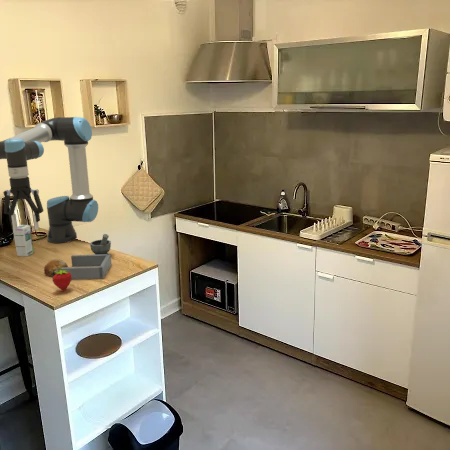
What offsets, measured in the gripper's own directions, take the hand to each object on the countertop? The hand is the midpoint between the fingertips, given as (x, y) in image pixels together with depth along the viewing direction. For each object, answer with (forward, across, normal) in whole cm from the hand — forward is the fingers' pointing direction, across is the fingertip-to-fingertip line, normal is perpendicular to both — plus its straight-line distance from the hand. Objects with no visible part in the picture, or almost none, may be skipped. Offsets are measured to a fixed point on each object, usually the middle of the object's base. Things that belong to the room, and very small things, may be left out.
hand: (26, 229), depth 196 cm
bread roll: (+21, +10, 0) cm, 23 cm away
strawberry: (+21, +19, -20) cm, 35 cm away
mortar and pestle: (+21, +26, +20) cm, 39 cm away
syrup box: (+21, -12, +26) cm, 35 cm away
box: (+20, +24, 0) cm, 31 cm away
